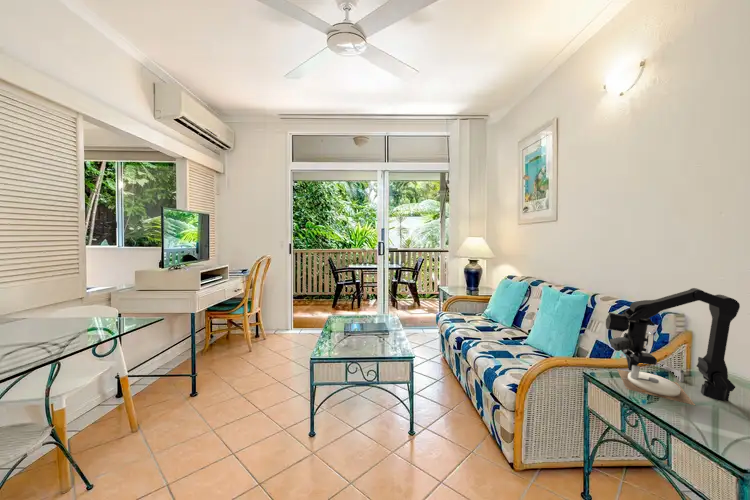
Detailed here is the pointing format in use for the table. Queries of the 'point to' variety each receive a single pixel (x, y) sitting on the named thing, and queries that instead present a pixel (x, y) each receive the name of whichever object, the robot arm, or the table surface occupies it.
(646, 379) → the dial
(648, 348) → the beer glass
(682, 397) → the dial base
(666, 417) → the table surface
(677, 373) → the caliper
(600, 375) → the table surface
